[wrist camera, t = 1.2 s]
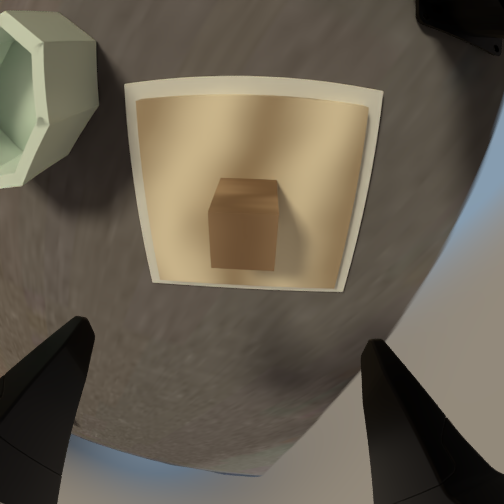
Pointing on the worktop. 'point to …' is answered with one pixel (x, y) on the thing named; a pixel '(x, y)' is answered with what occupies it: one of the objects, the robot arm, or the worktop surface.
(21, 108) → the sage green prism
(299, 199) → the lid
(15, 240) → the worktop surface
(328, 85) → the mat
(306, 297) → the worktop surface
